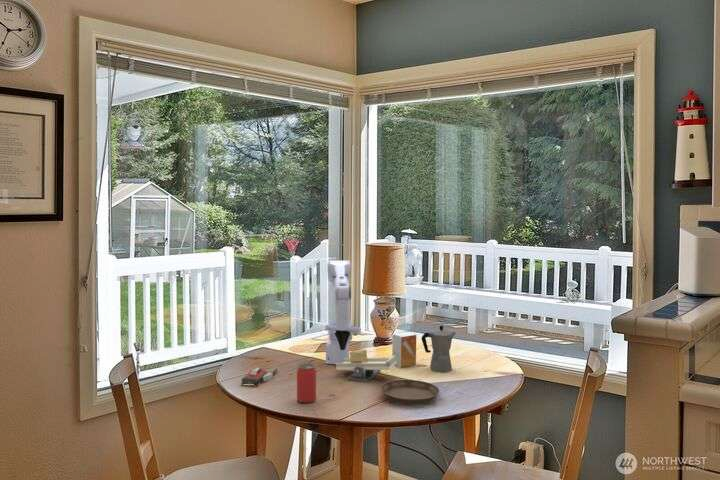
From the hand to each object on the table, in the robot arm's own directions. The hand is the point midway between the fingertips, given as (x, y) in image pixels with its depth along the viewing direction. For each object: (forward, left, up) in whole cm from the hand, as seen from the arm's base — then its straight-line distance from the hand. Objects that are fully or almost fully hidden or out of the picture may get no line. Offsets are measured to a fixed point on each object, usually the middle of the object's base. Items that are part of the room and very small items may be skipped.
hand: (342, 349), depth 239 cm
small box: (+19, +20, -10) cm, 29 cm away
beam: (+9, 0, -6) cm, 11 cm away
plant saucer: (+33, -17, -10) cm, 39 cm away
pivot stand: (+9, 0, -9) cm, 13 cm away
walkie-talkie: (-27, -19, -10) cm, 34 cm away
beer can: (+1, -34, -10) cm, 36 cm away
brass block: (+7, 0, -5) cm, 9 cm away
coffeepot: (+34, +19, -10) cm, 40 cm away
